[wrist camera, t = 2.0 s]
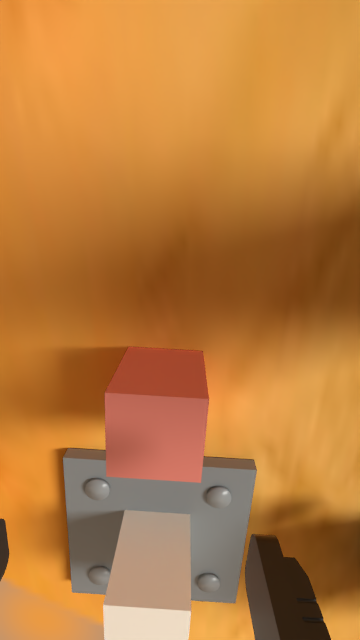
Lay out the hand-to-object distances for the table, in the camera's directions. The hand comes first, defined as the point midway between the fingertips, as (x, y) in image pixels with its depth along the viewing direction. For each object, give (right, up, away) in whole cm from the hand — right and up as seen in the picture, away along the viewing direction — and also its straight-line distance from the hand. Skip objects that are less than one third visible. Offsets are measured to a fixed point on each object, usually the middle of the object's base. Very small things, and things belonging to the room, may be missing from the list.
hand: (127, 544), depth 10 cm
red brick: (+1, +3, +11) cm, 11 cm away
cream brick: (0, -10, +14) cm, 17 cm away
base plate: (0, -9, +15) cm, 17 cm away
